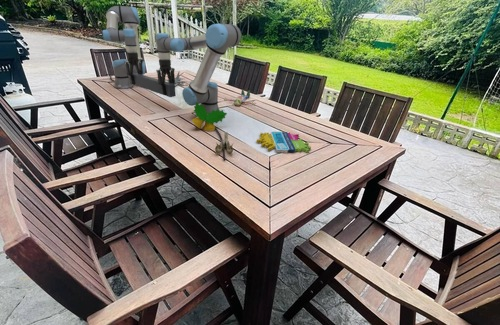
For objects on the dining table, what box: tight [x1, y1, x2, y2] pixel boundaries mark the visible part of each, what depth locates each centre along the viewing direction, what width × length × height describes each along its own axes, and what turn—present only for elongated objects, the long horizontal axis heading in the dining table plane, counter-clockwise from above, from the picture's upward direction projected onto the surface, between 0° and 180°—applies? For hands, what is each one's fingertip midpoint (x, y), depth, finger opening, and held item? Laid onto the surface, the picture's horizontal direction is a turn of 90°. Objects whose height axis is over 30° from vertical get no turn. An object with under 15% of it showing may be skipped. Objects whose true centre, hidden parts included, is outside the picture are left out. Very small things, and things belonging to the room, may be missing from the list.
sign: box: [256, 131, 312, 154], centre depth 152 cm, size 26×2×30 cm
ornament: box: [191, 102, 228, 132], centre depth 162 cm, size 21×8×15 cm, turn 105°
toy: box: [223, 89, 257, 106], centre depth 219 cm, size 28×7×30 cm
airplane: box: [165, 70, 187, 87], centre depth 251 cm, size 38×31×10 cm
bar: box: [129, 72, 177, 98], centre depth 193 cm, size 52×4×8 cm, turn 51°
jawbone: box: [214, 131, 234, 156], centre depth 136 cm, size 9×15×10 cm
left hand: (136, 83), depth 205 cm, fingers closed on bar, 4 cm apart
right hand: (167, 94), depth 184 cm, fingers closed on bar, 5 cm apart
